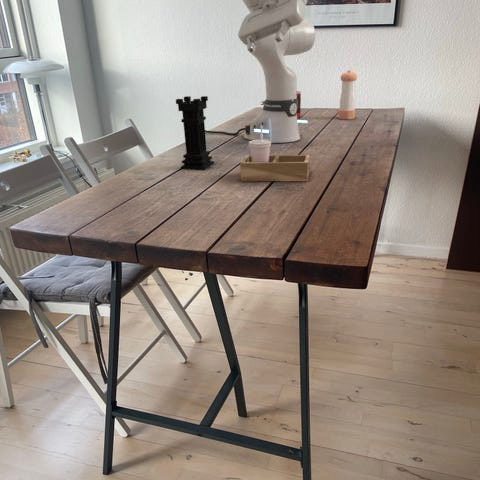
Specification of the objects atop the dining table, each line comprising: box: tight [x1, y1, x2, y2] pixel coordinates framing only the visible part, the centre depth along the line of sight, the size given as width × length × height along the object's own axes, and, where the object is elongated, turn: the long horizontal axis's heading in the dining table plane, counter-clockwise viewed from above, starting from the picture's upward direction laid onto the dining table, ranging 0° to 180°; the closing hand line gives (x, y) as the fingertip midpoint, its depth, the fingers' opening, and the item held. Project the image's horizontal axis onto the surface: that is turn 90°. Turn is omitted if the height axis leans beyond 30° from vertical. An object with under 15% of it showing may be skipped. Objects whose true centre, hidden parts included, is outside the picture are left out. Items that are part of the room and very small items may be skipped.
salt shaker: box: [337, 69, 358, 120], centre depth 219 cm, size 7×7×19 cm
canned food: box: [297, 90, 302, 119], centre depth 228 cm, size 8×8×11 cm
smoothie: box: [248, 125, 272, 162], centre depth 140 cm, size 6×6×14 cm
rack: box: [239, 154, 311, 182], centre depth 142 cm, size 10×19×5 cm, turn 80°
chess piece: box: [175, 95, 215, 171], centre depth 153 cm, size 8×8×20 cm
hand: (264, 45), depth 134 cm, fingers open, 8 cm apart
